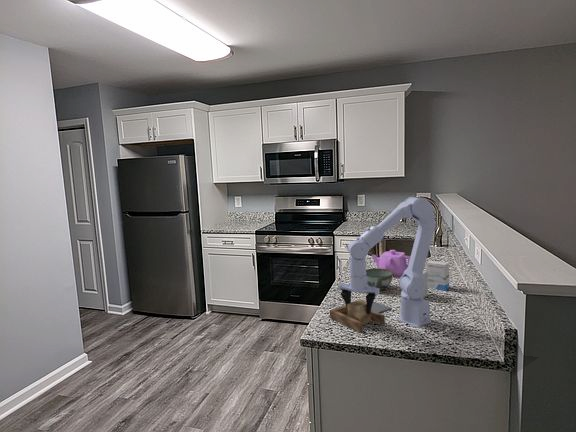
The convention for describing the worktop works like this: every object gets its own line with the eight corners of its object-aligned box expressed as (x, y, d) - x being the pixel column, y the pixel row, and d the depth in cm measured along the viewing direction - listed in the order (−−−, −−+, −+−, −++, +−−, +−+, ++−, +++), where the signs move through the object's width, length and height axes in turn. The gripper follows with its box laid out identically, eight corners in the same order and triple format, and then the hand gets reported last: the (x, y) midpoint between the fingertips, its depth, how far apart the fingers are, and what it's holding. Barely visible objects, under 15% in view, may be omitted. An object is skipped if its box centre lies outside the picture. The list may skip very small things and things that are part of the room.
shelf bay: (384, 323, 126) (384, 315, 126) (359, 332, 120) (359, 323, 120) (354, 310, 139) (353, 303, 139) (330, 318, 133) (329, 310, 133)
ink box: (449, 288, 160) (449, 262, 159) (445, 291, 156) (445, 265, 155) (430, 285, 166) (430, 260, 165) (425, 287, 162) (425, 262, 161)
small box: (414, 292, 157) (414, 268, 156) (427, 294, 154) (427, 270, 152) (407, 297, 151) (407, 273, 150) (421, 300, 148) (421, 275, 146)
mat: (391, 309, 139) (391, 307, 139) (372, 315, 134) (372, 314, 134) (372, 302, 148) (372, 300, 147) (354, 307, 142) (354, 306, 142)
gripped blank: (371, 320, 129) (370, 302, 128) (359, 327, 125) (358, 307, 124) (359, 317, 133) (359, 299, 132) (347, 323, 128) (347, 304, 127)
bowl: (398, 288, 164) (398, 270, 163) (384, 296, 154) (384, 278, 153) (371, 282, 173) (371, 266, 172) (357, 290, 163) (356, 273, 162)
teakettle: (387, 279, 177) (387, 255, 176) (370, 271, 194) (370, 248, 192) (417, 275, 182) (417, 251, 181) (398, 267, 198) (397, 245, 197)
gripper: (381, 273, 127) (382, 310, 128) (342, 270, 134) (343, 305, 135) (376, 279, 121) (376, 318, 122) (335, 275, 128) (336, 311, 129)
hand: (358, 311), depth 128 cm, fingers open, 7 cm apart
